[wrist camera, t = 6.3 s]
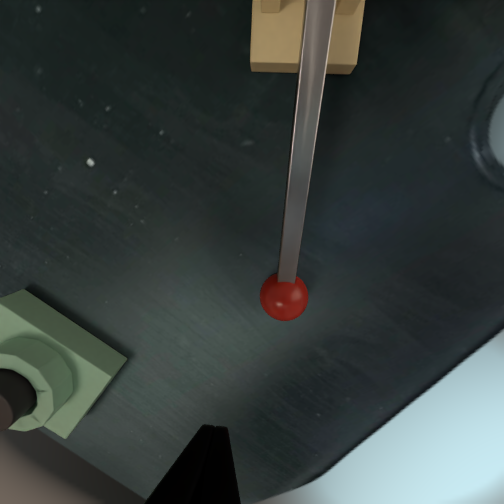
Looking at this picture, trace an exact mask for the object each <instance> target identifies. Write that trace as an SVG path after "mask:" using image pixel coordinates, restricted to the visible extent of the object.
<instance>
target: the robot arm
mask: <svg viewBox="0 0 504 504" xmlns="http://www.w3.org/2000/svg"><path fill="white" fill-rule="evenodd" d="M144 504H241V503H240V497H239V491H238V485H237V479H236V474H235V468H234V462H233V456H232V450H231V444H230V439H229V433H228V428H227V427H225V426H216V427H215V426H213V425H206V424H204V425H202V426H201V427H200V429H199V430H198V431H197V433H196V434H195V435H194V437H193V438H192V439H191V441H190V442H189V443H188V445H187V446H186V448H185V449H184V450H183V452H182V453H181V454H180V456H179V457H178V458H177V460H176V461H175V462H174V464H173V465H172V466H171V468H170V469H169V470H168V472H167V473H166V474H165V476H164V477H163V479H162V480H161V481H160V483H159V484H158V485H157V487H156V488H155V489H154V491H153V492H152V493H151V495H150V496H149V497H148V499H147V500H146V501H145V503H144Z"/></svg>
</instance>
